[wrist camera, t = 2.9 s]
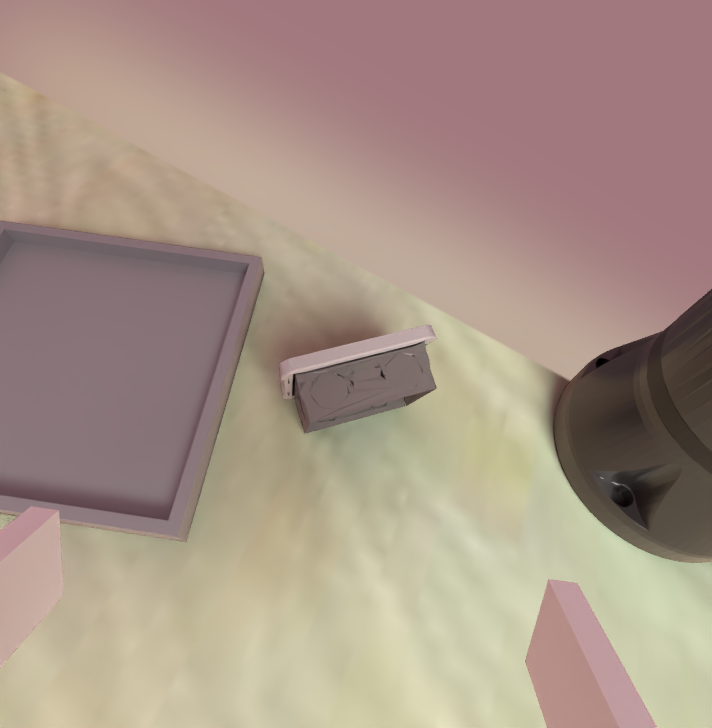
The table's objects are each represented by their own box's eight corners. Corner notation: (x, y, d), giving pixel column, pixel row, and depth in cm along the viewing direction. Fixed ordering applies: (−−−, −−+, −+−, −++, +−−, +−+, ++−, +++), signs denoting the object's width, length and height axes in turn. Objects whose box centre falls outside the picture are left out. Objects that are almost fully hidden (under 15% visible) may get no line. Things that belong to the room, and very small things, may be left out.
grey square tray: (264, 273, 40) (261, 257, 39) (185, 541, 30) (177, 536, 28) (13, 237, 41) (-1, 220, 39) (-149, 490, 30) (-179, 482, 29)
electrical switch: (399, 359, 37) (424, 297, 29) (422, 422, 35) (456, 375, 27) (280, 390, 35) (269, 334, 27) (298, 458, 34) (292, 420, 25)
